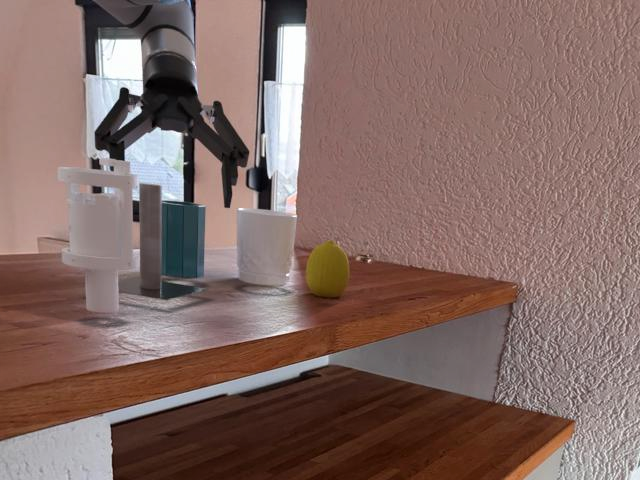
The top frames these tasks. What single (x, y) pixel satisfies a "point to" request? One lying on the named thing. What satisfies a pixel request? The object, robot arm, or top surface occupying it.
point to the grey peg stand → (152, 251)
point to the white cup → (265, 245)
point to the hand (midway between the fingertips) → (176, 196)
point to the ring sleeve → (183, 239)
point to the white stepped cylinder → (101, 230)
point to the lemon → (327, 270)
